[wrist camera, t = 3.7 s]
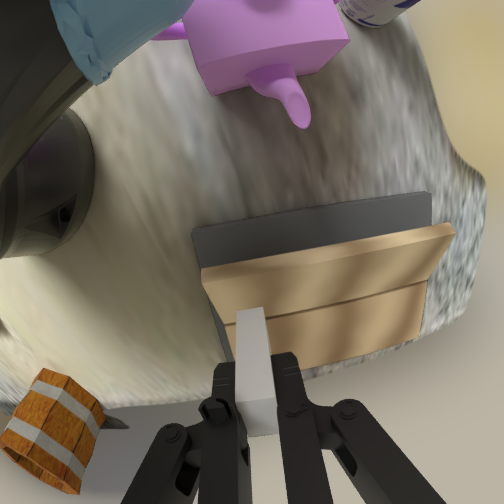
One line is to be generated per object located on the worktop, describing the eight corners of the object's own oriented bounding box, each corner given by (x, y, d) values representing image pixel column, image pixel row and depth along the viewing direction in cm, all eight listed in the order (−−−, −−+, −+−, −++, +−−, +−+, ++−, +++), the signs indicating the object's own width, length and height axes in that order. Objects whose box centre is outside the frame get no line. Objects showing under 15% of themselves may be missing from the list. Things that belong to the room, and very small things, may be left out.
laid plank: (240, 372, 27) (240, 380, 26) (224, 316, 25) (223, 324, 24) (413, 330, 27) (418, 336, 26) (421, 274, 24) (427, 279, 23)
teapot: (351, 123, 21) (420, 111, 11) (190, 164, 21) (152, 173, 12) (289, -35, 14) (309, -98, 5) (144, -2, 15) (104, -58, 6)
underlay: (232, 368, 29) (232, 376, 28) (193, 229, 23) (190, 233, 22) (415, 326, 28) (420, 331, 27) (424, 191, 23) (431, 193, 22)
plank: (222, 311, 24) (224, 324, 24) (201, 268, 19) (201, 283, 18) (422, 269, 24) (427, 279, 23) (448, 222, 18) (455, 233, 18)
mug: (70, 365, 29) (23, 448, 15) (122, 426, 33) (99, 503, 19) (6, 369, 30) (-32, 424, 16) (50, 421, 34) (24, 476, 20)
